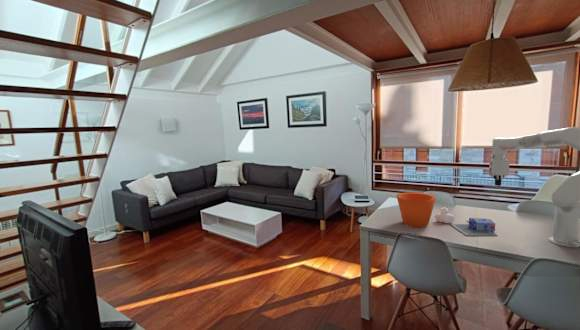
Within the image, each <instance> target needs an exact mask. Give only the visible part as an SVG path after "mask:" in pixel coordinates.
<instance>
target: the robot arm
mask: <svg viewBox="0 0 580 330" xmlns="http://www.w3.org/2000/svg"><path fill="white" fill-rule="evenodd" d="M560 145H566V146H569V147H570V148H572V149H575V150H577V151H579V152H580V127H578V126H570V127H565V128H564V127H563V128H558V129H551V130H547V131H546V130H545V131H542V132H539V133H535V134H529V135H523V136H515V137H509V138H506V137H495V138H493V139H492V149H491V150H492V151H491V155H490V156H489V157H490V161H489V167H488V175H489V177H491V178H493V180H494V185H495V186H497V187H499V186H500V187H501V186H502V180H503V179H504V178H505V177H508V175H509V174H510V163H509V160H508V150H509V151H514V150H515V151H516V150H522V149H528V148H535V147H537V148H538V147H542V148H544V147H552V146H560ZM551 201H552V203H553V204H554V205H555V209H554V219H553V221H554V222H553V233H552V236H550V237H549V238H548V241H549V242H551V243H552V244H554V245H558V246H562V247H568V248H580V247H579V246H580V238H579V236H578V233H579V224H580V223H579V221H580V170H578V171H577V172H575V173H574V174H573V173H572V174H571V175H570V176H568V177H567V178H566V179H565V180H564V181H563V182H562V183H561V184H560V185H559V187H558V188H556V189H555V190H554V192H553V193H552V194H551Z"/></svg>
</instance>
